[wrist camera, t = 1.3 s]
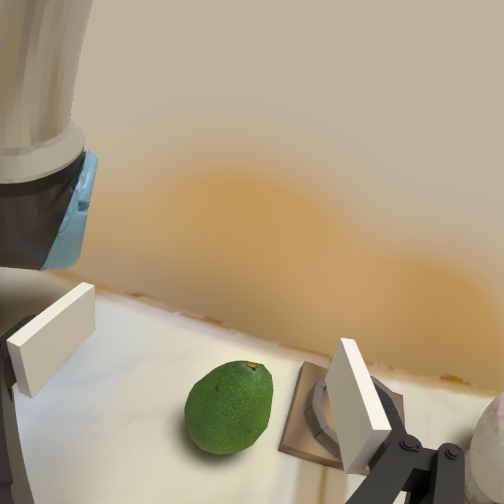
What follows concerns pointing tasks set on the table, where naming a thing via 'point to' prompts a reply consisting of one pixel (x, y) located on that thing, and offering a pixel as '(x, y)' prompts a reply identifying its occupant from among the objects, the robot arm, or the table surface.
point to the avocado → (229, 407)
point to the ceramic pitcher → (486, 457)
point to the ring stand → (319, 419)
